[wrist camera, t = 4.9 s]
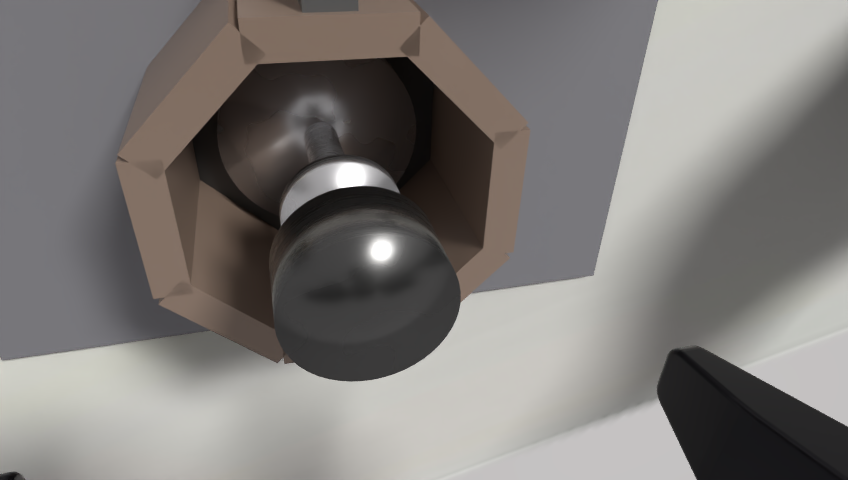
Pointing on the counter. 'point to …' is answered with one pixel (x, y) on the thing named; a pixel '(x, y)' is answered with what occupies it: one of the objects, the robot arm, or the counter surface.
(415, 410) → the counter surface
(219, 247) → the brown octagonal ring
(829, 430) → the robot arm
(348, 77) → the silver stemmed round piece
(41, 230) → the mat
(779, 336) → the counter surface
